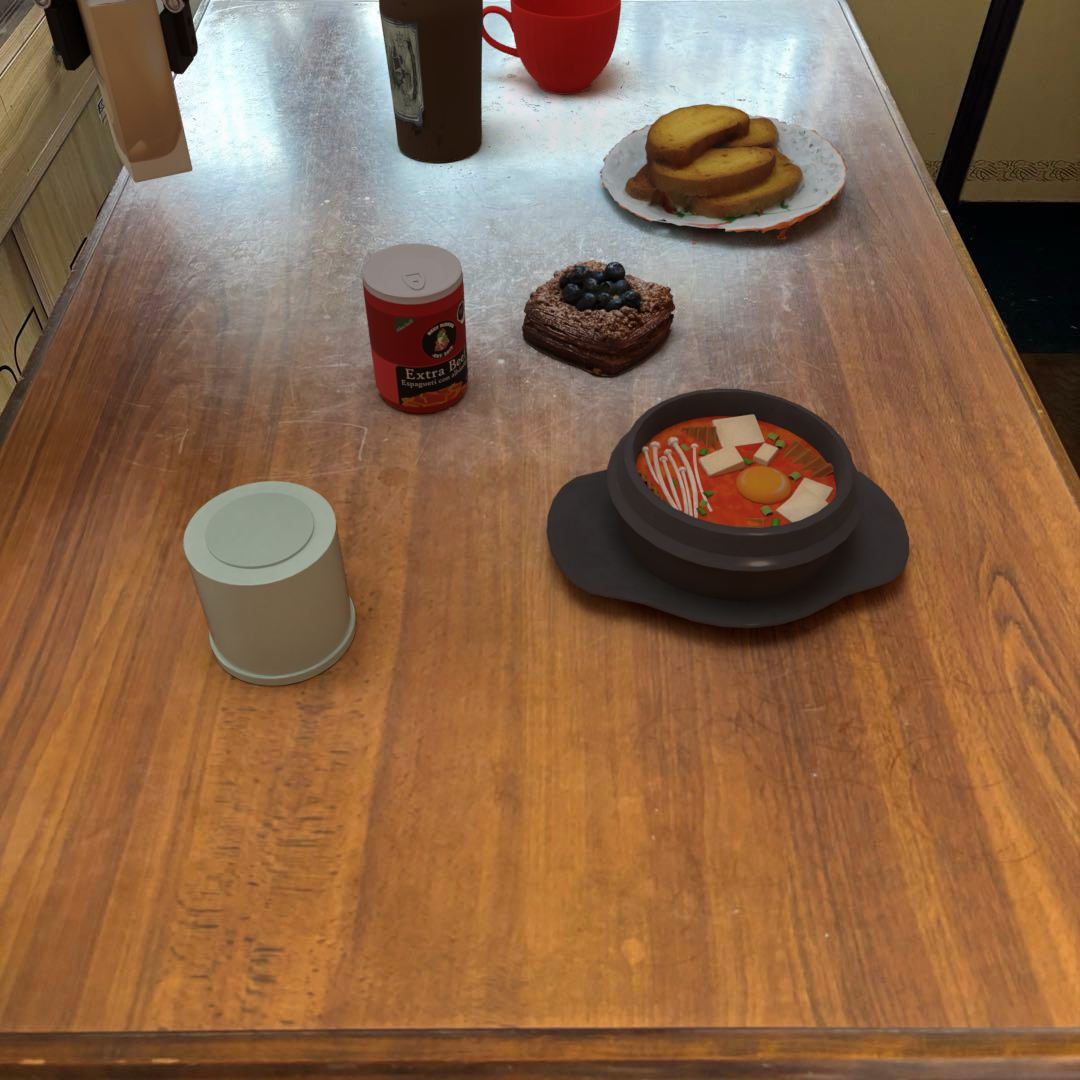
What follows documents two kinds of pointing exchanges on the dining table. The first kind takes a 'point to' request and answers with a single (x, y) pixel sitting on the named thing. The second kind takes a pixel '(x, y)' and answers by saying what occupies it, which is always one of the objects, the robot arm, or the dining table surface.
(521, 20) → the ceramic cup
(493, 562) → the dining table surface
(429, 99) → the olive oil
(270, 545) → the upturned cup
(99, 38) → the cosmetic box
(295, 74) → the dining table surface
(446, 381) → the canned food
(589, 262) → the pastry
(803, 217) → the food on plate
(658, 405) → the casserole
